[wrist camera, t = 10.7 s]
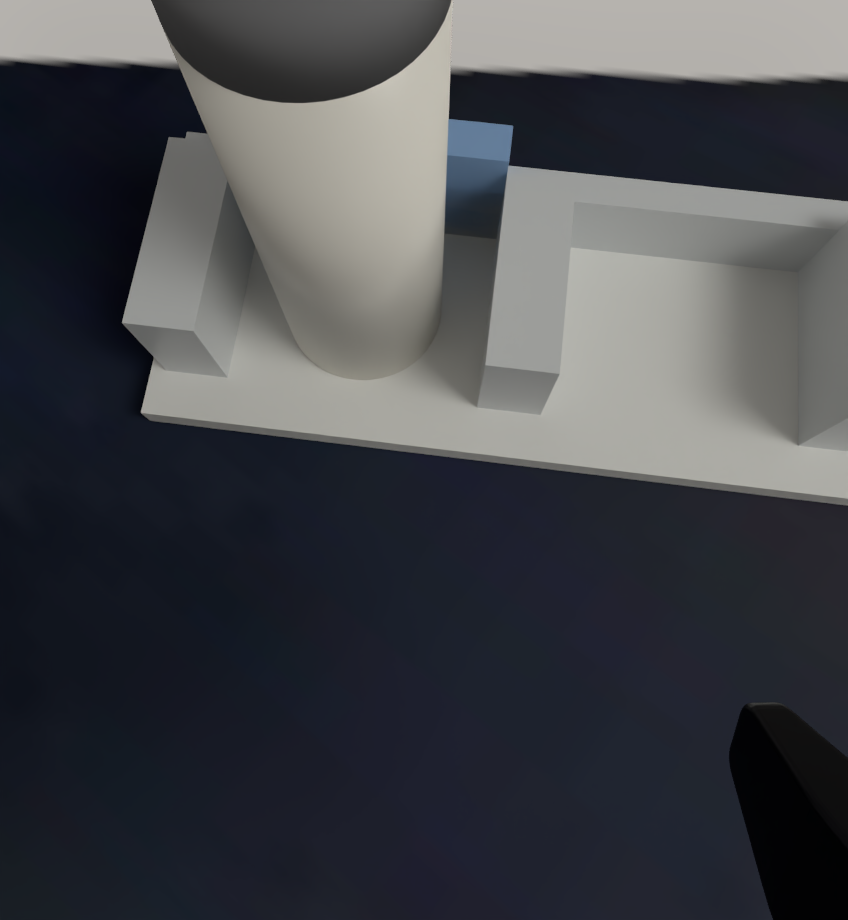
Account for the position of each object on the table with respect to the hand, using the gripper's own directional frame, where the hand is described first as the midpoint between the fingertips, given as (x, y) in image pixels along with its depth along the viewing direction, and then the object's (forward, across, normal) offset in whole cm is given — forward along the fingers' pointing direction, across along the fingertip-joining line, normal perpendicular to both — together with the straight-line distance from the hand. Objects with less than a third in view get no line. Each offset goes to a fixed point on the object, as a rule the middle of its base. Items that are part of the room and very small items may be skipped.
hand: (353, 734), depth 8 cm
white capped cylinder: (+17, +1, +1) cm, 17 cm away
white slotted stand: (+18, -4, +2) cm, 18 cm away
